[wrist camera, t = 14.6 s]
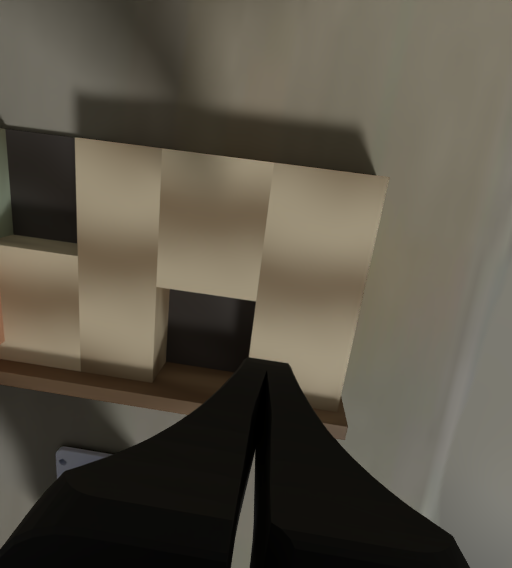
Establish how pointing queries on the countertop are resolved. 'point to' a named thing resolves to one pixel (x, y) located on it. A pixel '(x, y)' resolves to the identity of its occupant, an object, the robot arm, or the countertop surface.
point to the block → (1, 325)
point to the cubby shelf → (177, 271)
